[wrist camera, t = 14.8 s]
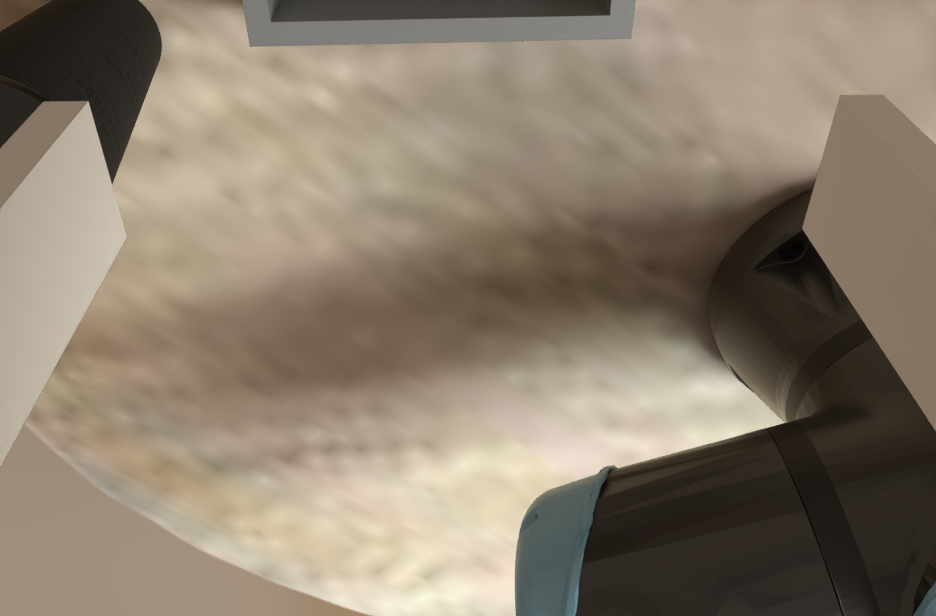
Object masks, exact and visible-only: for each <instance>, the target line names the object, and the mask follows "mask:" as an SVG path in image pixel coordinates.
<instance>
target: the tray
mask: <svg viewBox="0 0 936 616" xmlns="http://www.w3.org/2000/svg"><path fill="white" fill-rule="evenodd" d="M242 2H243V8H244V14H245V20H246V26H247V32H248V37H249V43H250V47H252V46H301V45H350V44H399V43H448V42H497V41H546V40H595V39H631V36H632V28H633V19H634V10H635V2H636V0H242Z"/></svg>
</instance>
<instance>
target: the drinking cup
mask: <svg viewBox="0 0 936 616" xmlns="http://www.w3.org/2000/svg"><path fill="white" fill-rule="evenodd" d="M161 51H162V43H161V36H160V32H159V29H158V26H157V24H156V22H155V20H154V18H153V17H152V15H151V14H150V12H149V11H148V10H147V9H146V7H145V6H144V5H143V4H142V3H141V2H140V1H138V0H52V1H51V2H49V3H47V4H46V5H44V6H42V7H41V8H39V9H37V10H36V11H34V12H32V13H31V14H29V15H27V16H26V17H24V18H22V19H21V20H19V21H17V22H16V23H14V24H12V25H11V26H9V27H7V28H6V29H4V30H2V31H1V32H0V148H1V147H2V146H3V145H4V144H5V143H6V142H7V140H8V139H9V138H10V137H11V136H12V135H13V134H14V133H15V132H16V131H17V130H18V129H19V127H20V126H21V125H22V124H23V123H24V122H25V121H26V120H27V119H28V118H29V117H30V116H31V114H32V113H33V112H34V111H35V110H36V109H37V108H38V107H39V106H40V105H41V104H42V103H43V102H52V101H88V102H89V105H90V109H91V112H92V116H93V119H94V123H95V126H96V130H97V133H98V137H99V140H100V144H101V148H102V151H103V155H104V158H105V162H106V165H107V169H108V172H109V176H110V179H111V183H113V181H114V178H115V176H116V173H117V170H118V168H119V165H120V162H121V160H122V157H123V155H124V152H125V149H126V147H127V144H128V141H129V139H130V136H131V134H132V131H133V128H134V126H135V123H136V120H137V118H138V115H139V113H140V110H141V107H142V105H143V102H144V99H145V97H146V94H147V92H148V89H149V86H150V84H151V81H152V78H153V76H154V73H155V71H156V68H157V65H158V63H159V60H160V56H161Z"/></svg>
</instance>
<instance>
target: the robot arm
mask: <svg viewBox="0 0 936 616" xmlns="http://www.w3.org/2000/svg"><path fill="white" fill-rule="evenodd" d="M126 238H127V236H126V232H125V229H124V225H123V222H122V218H121V215H120V211H119V208H118V204H117V200H116V197H115V193H114V190H113V186H112V183H111V179H110V176H109V172H108V169H107V165H106V162H105V158H104V155H103V151H102V148H101V144H100V140H99V137H98V133H97V130H96V126H95V123H94V119H93V116H92V112H91V109H90V105H89V102H88V101H52V102H43V103H42V104H41V105H40V106H39V107H38V108H37V109H36V110H35V111H34V112H33V113H32V114H31V116H30V117H29V118H28V119H27V120H26V121H25V122H24V123H23V124H22V125H21V126H20V127H19V129H18V130H17V131H16V132H15V133H14V134H13V135H12V136H11V137H10V138H9V139H8V140H7V142H6V143H5V144H4V145H3V146H2V147H1V148H0V466H1V464H2V462H3V461H4V459H5V457H6V455H7V453H8V452H9V450H10V448H11V446H12V444H13V442H14V441H15V439H16V437H17V435H18V433H19V431H20V430H21V428H22V426H23V424H24V423H25V421H26V419H27V417H28V415H29V413H30V412H31V410H32V408H33V406H34V404H35V403H36V401H37V399H38V397H39V395H40V394H41V392H42V390H43V388H44V386H45V384H46V383H47V381H48V379H49V377H50V375H51V374H52V372H53V370H54V368H55V366H56V365H57V363H58V361H59V359H60V357H61V355H62V354H63V352H64V350H65V348H66V346H67V345H68V343H69V341H70V339H71V337H72V336H73V334H74V332H75V330H76V328H77V326H78V325H79V323H80V321H81V319H82V317H83V316H84V314H85V312H86V310H87V308H88V307H89V305H90V303H91V301H92V299H93V297H94V296H95V294H96V292H97V290H98V288H99V287H100V285H101V283H102V281H103V279H104V278H105V276H106V274H107V272H108V270H109V268H110V267H111V265H112V263H113V261H114V259H115V258H116V256H117V254H118V252H119V250H120V248H121V247H122V245H123V243H124V241H125V239H126ZM708 314H709V323H710V327H711V331H712V334H713V336H714V339H715V341H716V343H717V346H718V348H719V351H720V353H721V355H722V357H723V359H724V361H725V363H726V365H727V366H728V368H729V369H730V371H731V372H732V373H733V375H734V376H735V377H736V378H737V379H738V380H739V381H740V382H741V383H742V384H744V385H745V386H746V387H747V388H749V389H750V390H751V391H752V392H754V393H755V394H756V395H757V396H758V397H759V398H760V399H761V400H762V401H763V402H764V403H765V404H766V405H767V406H768V407H769V408H770V409H771V410H772V411H773V412H774V413H775V414H776V415H777V416H778V417H779V418H780V419H781V420H783V421H784V422H785V423H784V424H780V425H777V426H773V427H769V428H764V429H760V430H757V431H753V432H750V433H746V434H743V435H739V436H736V437H733V438H729V439H726V440H722V441H718V442H714V443H711V444H707V445H703V446H699V447H696V448H692V449H688V450H684V451H681V452H677V453H673V454H670V455H666V456H662V457H658V458H655V459H651V460H647V461H643V462H640V463H636V464H632V465H628V466H625V467H621V468H617V467H615V466H614V465H613V466H607V467H604V468H603V469H602V470H600V472H599V473H598V474H596V475H593V476H590V477H587V478H584V479H581V480H578V481H575V482H572V483H569V484H566V485H563V486H560V487H556V488H553V489H551V490H548V491H546V492H545V493H543V494H542V495H540V496H539V497H538V498H537V499H536V500H535V501H534V502H533V503H532V504H531V506H530V507H529V509H528V510H527V512H526V514H525V516H524V518H523V521H522V524H521V528H520V532H519V539H518V542H517V550H516V562H515V608H516V616H936V144H935V143H934V142H933V141H932V140H931V139H929V138H928V137H927V136H926V135H925V134H924V133H923V132H922V131H921V130H920V129H919V128H918V127H917V126H916V125H915V124H914V123H912V122H911V121H910V120H909V119H908V118H907V117H906V116H905V115H904V114H903V113H902V112H901V111H900V110H899V109H898V108H896V107H895V106H894V105H893V104H892V103H891V102H890V101H889V100H888V99H887V98H886V97H885V96H884V95H840V97H839V101H838V104H837V108H836V111H835V115H834V118H833V122H832V125H831V129H830V132H829V136H828V139H827V143H826V146H825V150H824V153H823V157H822V160H821V164H820V167H819V171H818V175H817V178H816V182H815V185H814V189H813V190H811V191H808V192H806V193H804V194H802V195H799V196H797V197H795V198H793V199H791V200H789V201H788V202H786V203H784V204H782V205H781V206H779V207H778V208H776V209H774V210H773V211H771V212H770V213H769V214H767V215H766V216H765V217H763V218H762V219H761V220H759V221H758V222H757V223H756V224H755V225H753V226H752V227H751V228H750V229H749V230H748V231H747V232H746V233H745V234H744V235H743V236H742V237H741V238H740V239H739V240H738V242H737V243H736V244H735V245H734V246H733V248H732V249H731V250H730V252H729V253H728V254H727V256H726V258H725V259H724V261H723V262H722V264H721V266H720V268H719V270H718V272H717V274H716V276H715V279H714V282H713V285H712V288H711V292H710V297H709V306H708Z"/></svg>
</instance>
